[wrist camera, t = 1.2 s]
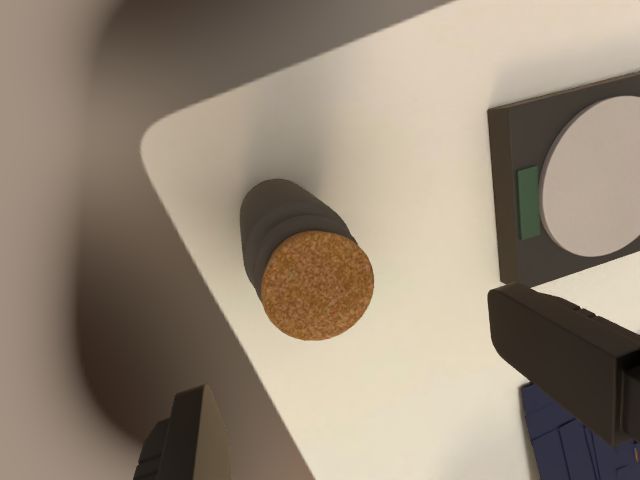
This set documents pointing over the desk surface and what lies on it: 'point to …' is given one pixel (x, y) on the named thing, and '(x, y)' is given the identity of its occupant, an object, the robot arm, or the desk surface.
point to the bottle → (303, 262)
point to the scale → (567, 180)
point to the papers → (573, 444)
